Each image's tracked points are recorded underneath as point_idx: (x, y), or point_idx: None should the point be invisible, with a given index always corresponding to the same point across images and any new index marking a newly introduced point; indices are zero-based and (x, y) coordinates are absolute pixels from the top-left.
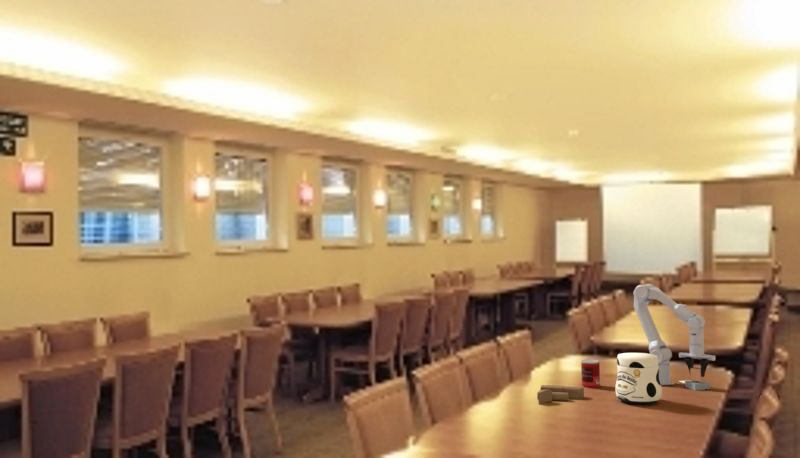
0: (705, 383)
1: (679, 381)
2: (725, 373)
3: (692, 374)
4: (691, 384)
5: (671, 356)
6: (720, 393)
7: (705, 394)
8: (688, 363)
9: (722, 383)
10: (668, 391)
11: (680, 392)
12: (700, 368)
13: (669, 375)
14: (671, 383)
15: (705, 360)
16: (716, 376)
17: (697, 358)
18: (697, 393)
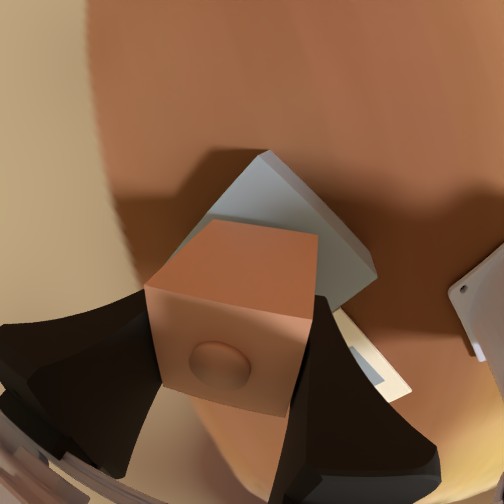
0: (185, 238)
1: (407, 384)
2: (249, 488)
3: (287, 263)
4: (305, 196)
5: (496, 500)
6: (101, 153)
7: (162, 54)
8: (347, 411)
9: (198, 404)
10: (440, 20)
11: (351, 13)
12: (178, 365)
13: (499, 328)
14: (466, 285)
15: (13, 393)
16: (260, 472)
17: (144, 500)
18: (219, 47)
